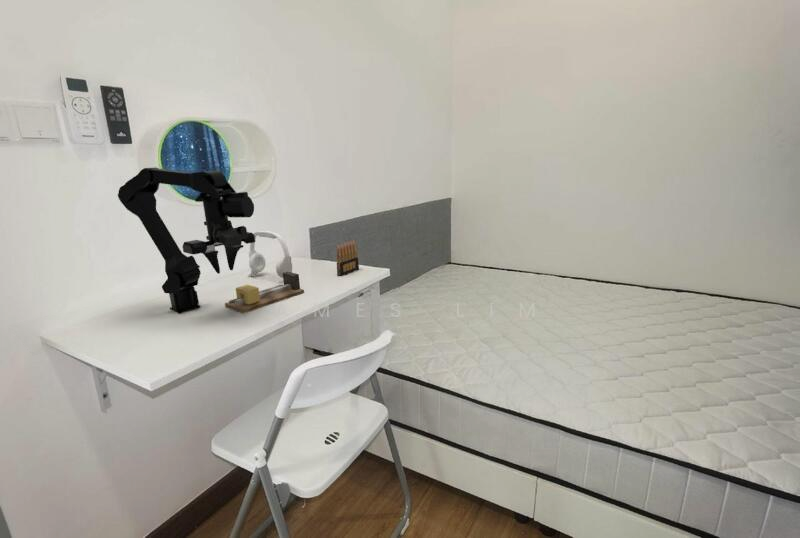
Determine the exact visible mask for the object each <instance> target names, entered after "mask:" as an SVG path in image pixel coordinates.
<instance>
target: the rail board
mask: <svg viewBox="0 0 800 538" xmlns="http://www.w3.org/2000/svg"><path fill="white" fill-rule="evenodd" d="M282 280H283V284H279V285H276V286H273V287H269V288H266V289H263V290H259V296H260V301H258V302H255V303H252V304H249V305H248V304H245V299H244V297H243V298H240V299H237V297H236V298H233V299H230V300H228V302H225V303H224V306H225V307H226V308H227V309H228V308H229V309H231V310H233V311H236V312H239V313H241V314H246V313H248V312H251V311H254V310H258V309H260V308H264V307H265V306H270V305H272V304H275V303H278V302H281V301H283V300H288V299H289V298H293V297H295V296H299V295H302V294H305V290H304V289H303V288H301V286H300V284H301V283H300V275H299V273H297V272H296V273H295V272H292V273H291V272H284V273H283V278H282Z"/></svg>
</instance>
